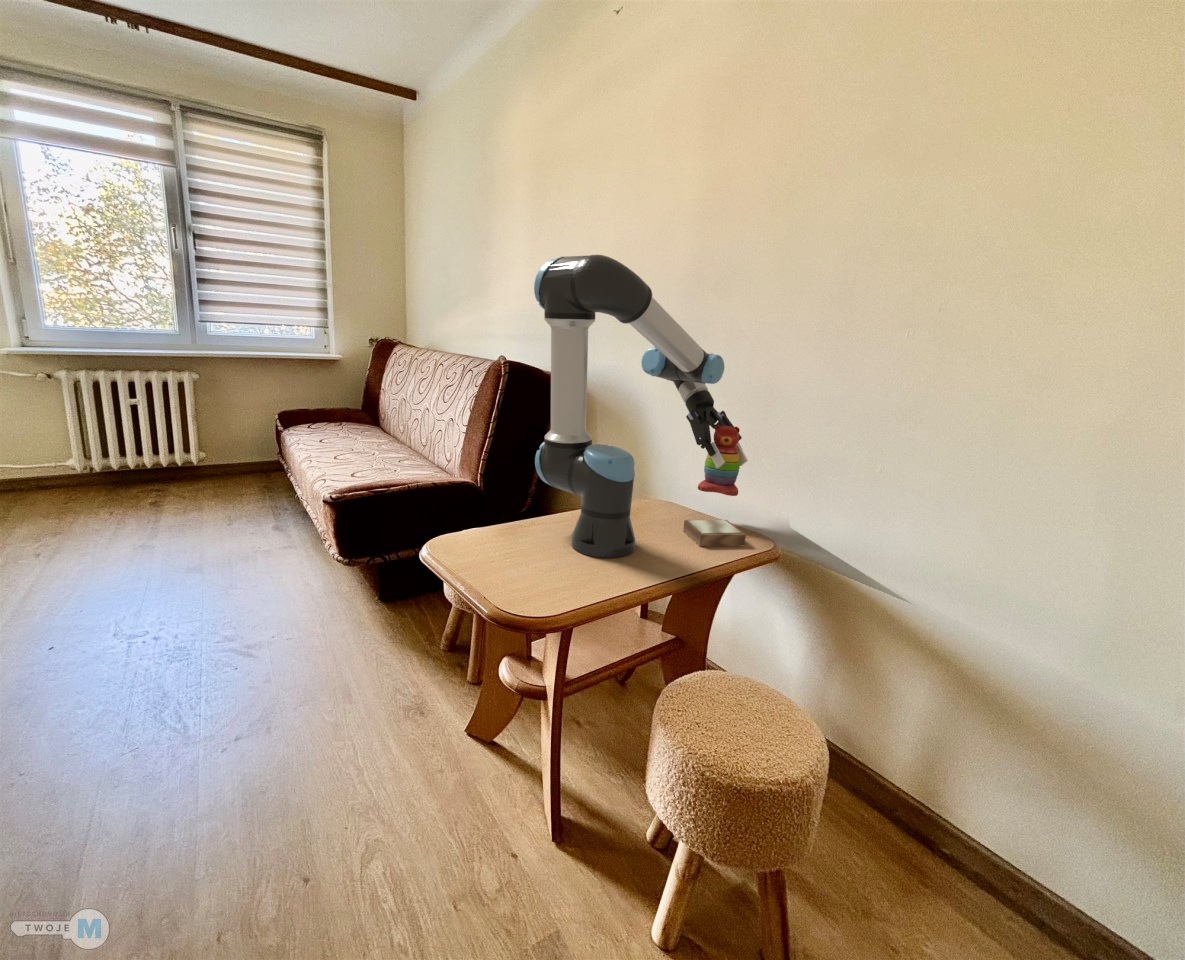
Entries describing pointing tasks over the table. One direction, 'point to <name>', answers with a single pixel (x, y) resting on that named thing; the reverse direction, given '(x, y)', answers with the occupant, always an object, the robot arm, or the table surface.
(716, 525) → the grey flat block
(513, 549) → the table surface
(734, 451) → the stacking bear
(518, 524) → the table surface
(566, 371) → the robot arm
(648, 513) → the table surface
